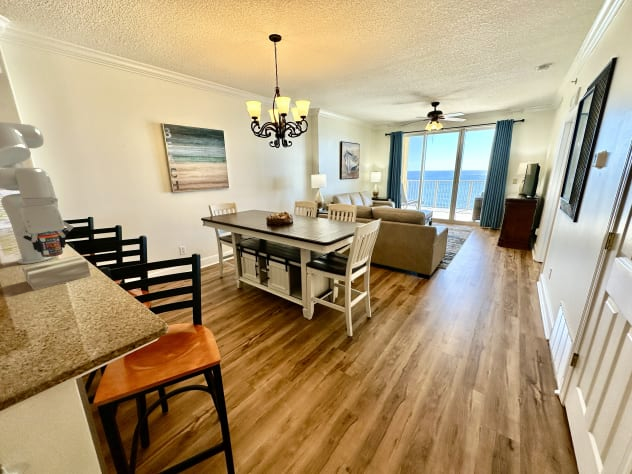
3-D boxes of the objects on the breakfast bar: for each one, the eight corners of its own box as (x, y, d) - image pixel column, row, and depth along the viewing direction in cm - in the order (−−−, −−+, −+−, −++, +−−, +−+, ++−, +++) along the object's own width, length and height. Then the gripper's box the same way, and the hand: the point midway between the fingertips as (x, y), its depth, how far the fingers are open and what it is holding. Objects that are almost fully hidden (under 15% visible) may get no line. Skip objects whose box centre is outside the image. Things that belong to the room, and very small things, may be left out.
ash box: (26, 281, 100) (22, 266, 98) (80, 268, 112) (76, 255, 111) (34, 290, 92) (29, 274, 90) (90, 275, 105) (87, 261, 103)
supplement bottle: (49, 258, 96) (41, 228, 93) (37, 257, 97) (29, 228, 95) (67, 253, 102) (60, 225, 99) (56, 252, 103) (48, 224, 100)
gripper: (67, 199, 104) (77, 242, 108) (0, 204, 90) (16, 253, 94) (72, 200, 99) (83, 245, 104) (3, 205, 86) (19, 257, 90)
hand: (51, 248), depth 99 cm, fingers closed on supplement bottle, 6 cm apart
